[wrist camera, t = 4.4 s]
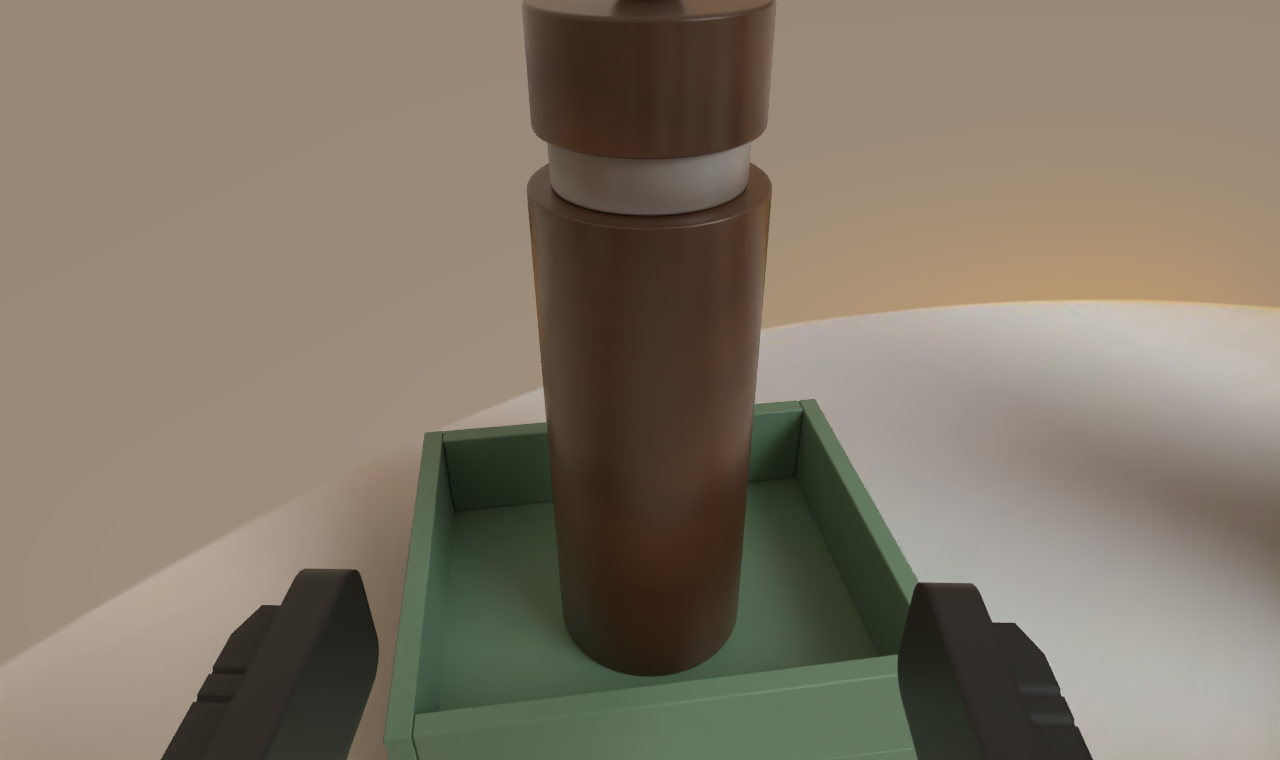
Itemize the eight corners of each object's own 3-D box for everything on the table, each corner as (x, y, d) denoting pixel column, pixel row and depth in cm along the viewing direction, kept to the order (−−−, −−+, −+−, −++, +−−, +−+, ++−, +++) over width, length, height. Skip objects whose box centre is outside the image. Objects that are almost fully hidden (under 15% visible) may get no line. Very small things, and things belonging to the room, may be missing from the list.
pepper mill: (716, 534, 27) (753, -99, 17) (757, 665, 23) (836, -83, 13) (558, 551, 26) (503, -95, 17) (568, 688, 22) (503, -77, 12)
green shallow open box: (804, 479, 30) (815, 398, 28) (938, 758, 21) (968, 666, 19) (439, 515, 29) (424, 432, 27) (409, 832, 20) (382, 740, 18)
